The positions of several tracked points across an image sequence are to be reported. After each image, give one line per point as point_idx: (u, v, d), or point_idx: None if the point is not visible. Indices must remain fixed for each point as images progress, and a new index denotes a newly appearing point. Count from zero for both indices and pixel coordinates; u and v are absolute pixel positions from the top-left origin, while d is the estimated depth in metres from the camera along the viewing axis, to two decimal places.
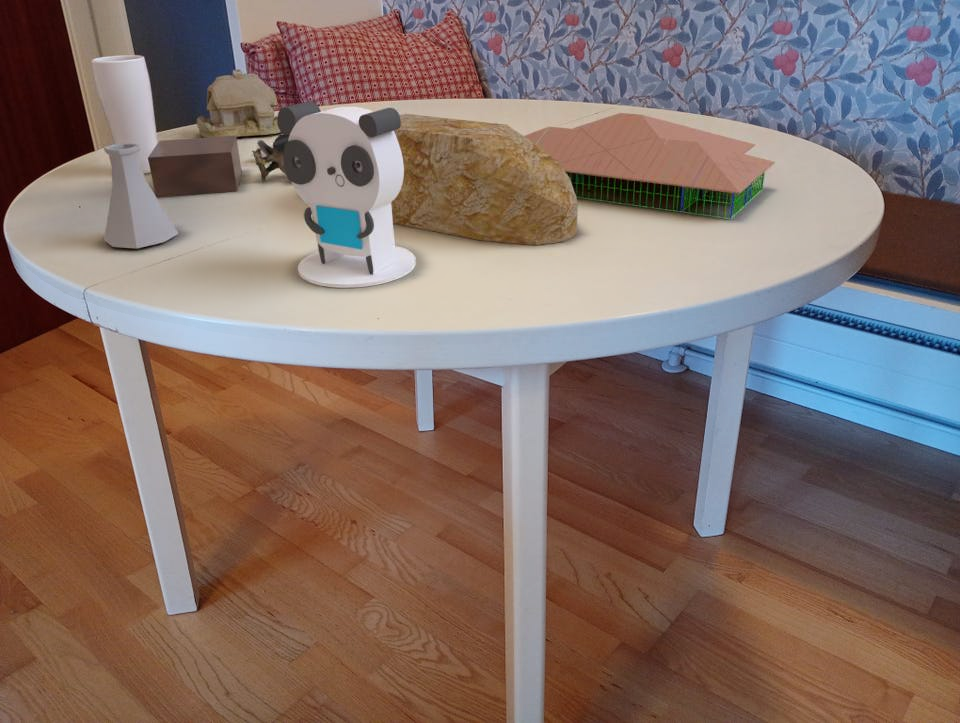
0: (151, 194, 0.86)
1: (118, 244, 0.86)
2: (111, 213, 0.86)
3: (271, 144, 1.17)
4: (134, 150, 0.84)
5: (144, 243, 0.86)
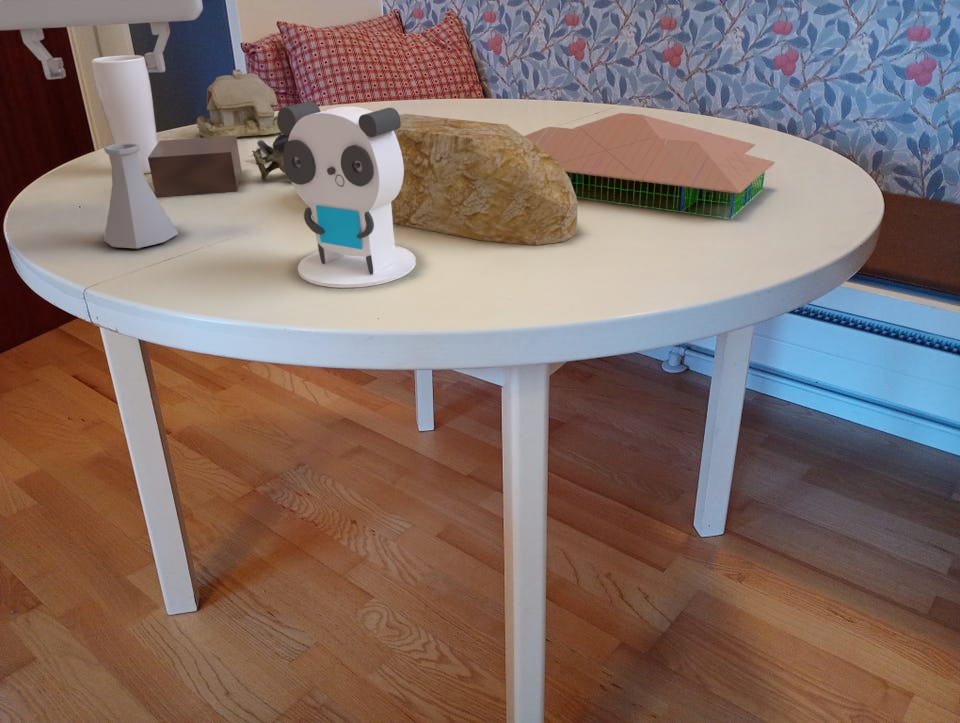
0: (151, 194, 0.86)
1: (118, 244, 0.86)
2: (111, 213, 0.86)
3: (271, 144, 1.17)
4: (134, 150, 0.84)
5: (144, 243, 0.86)
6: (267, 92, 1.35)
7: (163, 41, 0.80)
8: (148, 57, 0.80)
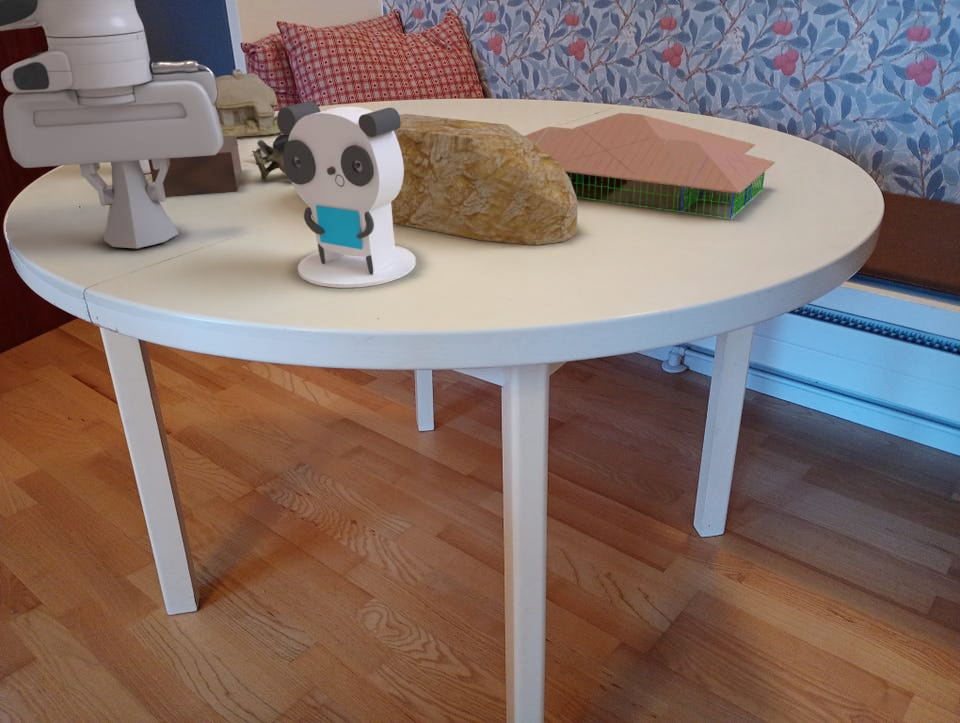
0: None
1: (118, 244, 0.86)
2: (111, 213, 0.86)
3: (271, 144, 1.17)
4: None
5: (144, 243, 0.86)
6: (267, 92, 1.35)
7: (163, 175, 0.85)
8: (149, 189, 0.86)
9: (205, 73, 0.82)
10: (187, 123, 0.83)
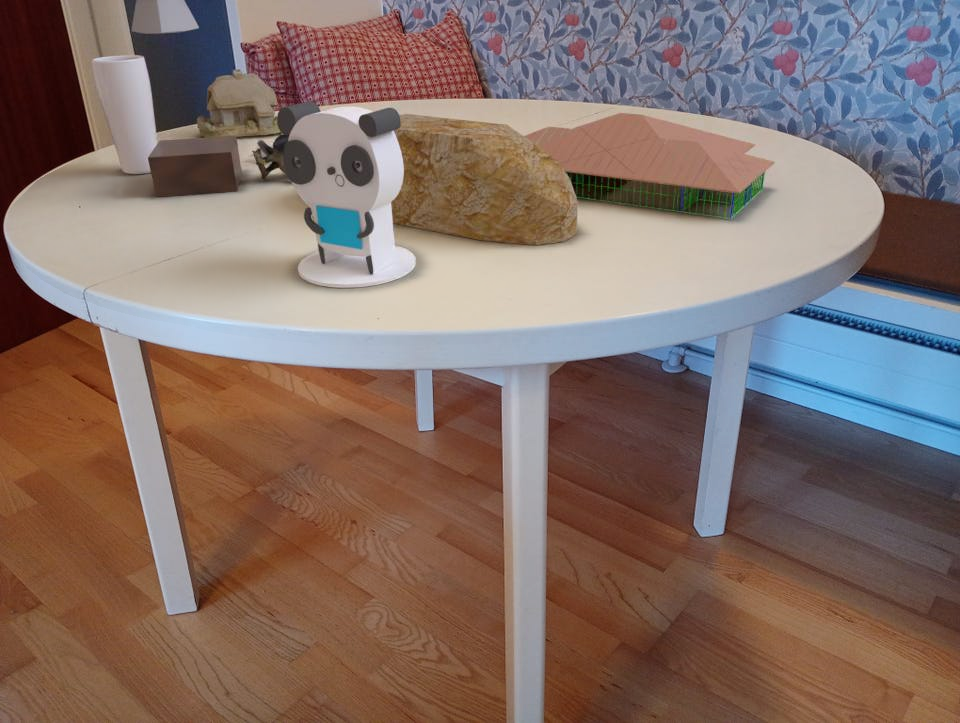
0: None
1: (145, 30, 0.94)
2: (138, 2, 0.95)
3: (271, 144, 1.17)
4: None
5: (168, 29, 0.94)
6: (267, 92, 1.35)
7: None
8: None
9: None
10: None
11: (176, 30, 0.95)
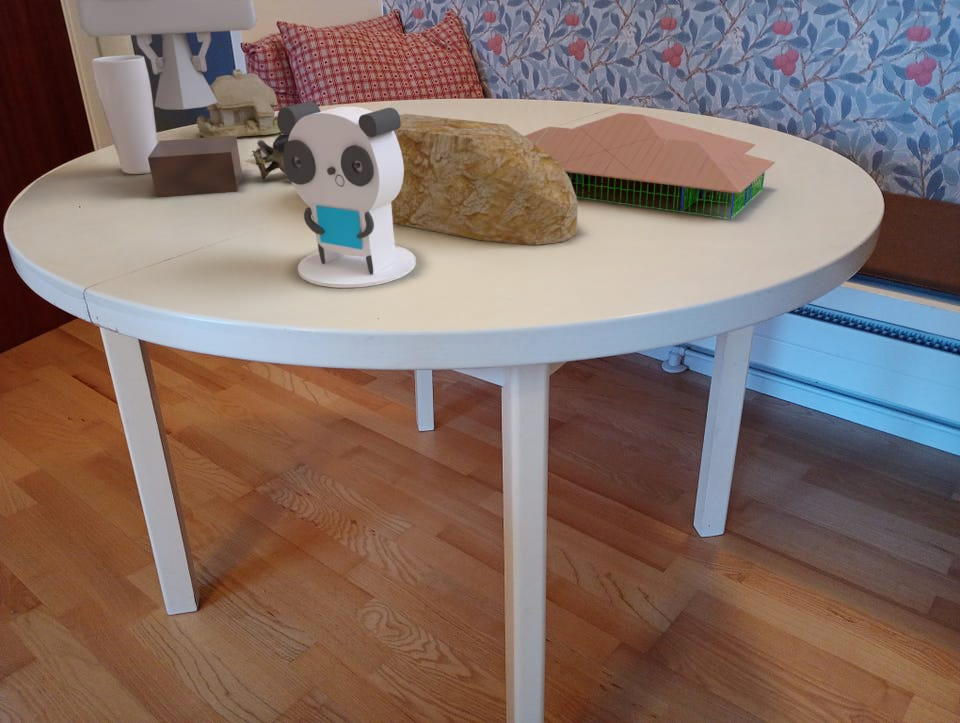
0: None
1: (168, 106, 1.01)
2: (161, 80, 1.01)
3: (271, 144, 1.17)
4: None
5: (190, 105, 1.01)
6: (267, 92, 1.35)
7: (206, 47, 1.00)
8: (194, 59, 1.01)
9: None
10: (227, 0, 0.98)
11: (197, 106, 1.01)
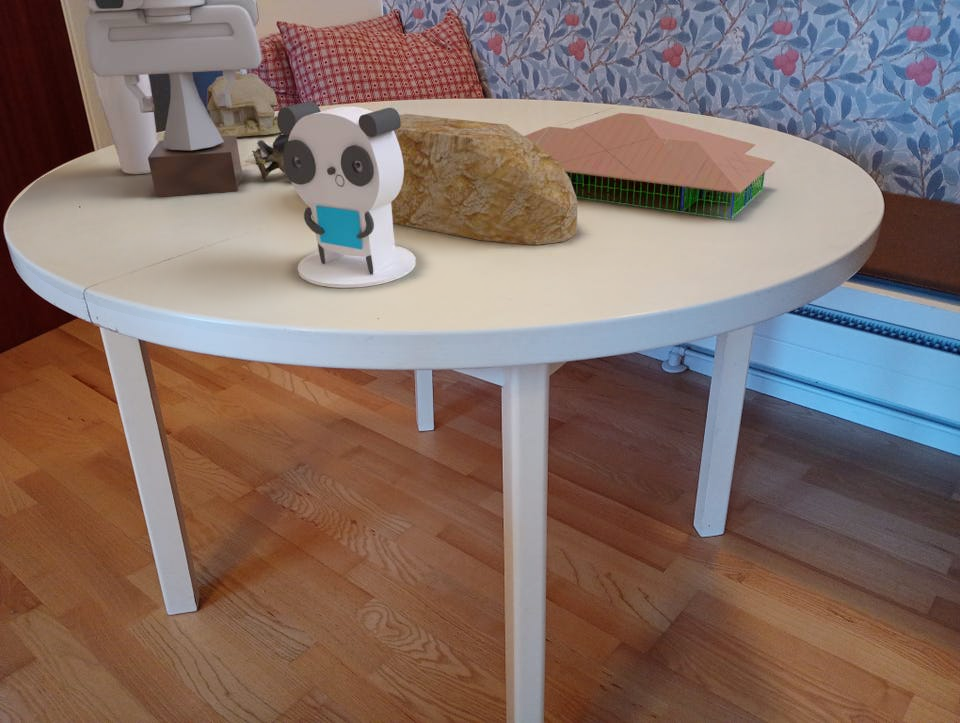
0: (202, 106, 1.04)
1: (175, 147, 1.03)
2: (169, 122, 1.03)
3: (271, 144, 1.17)
4: None
5: (197, 146, 1.03)
6: (267, 92, 1.35)
7: (231, 84, 1.03)
8: (219, 96, 1.03)
9: None
10: (234, 40, 1.00)
11: (204, 147, 1.04)
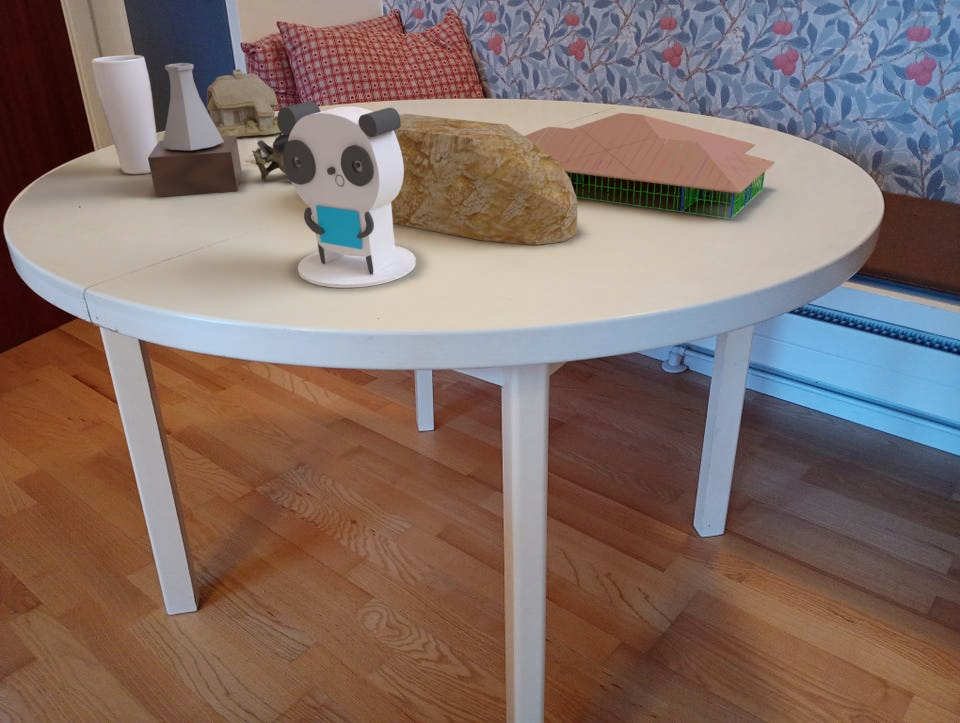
0: (202, 106, 1.04)
1: (175, 147, 1.03)
2: (169, 122, 1.03)
3: (271, 144, 1.17)
4: (189, 68, 1.01)
5: (197, 146, 1.03)
6: (267, 92, 1.35)
7: None
8: None
9: None
10: None
11: (204, 147, 1.04)
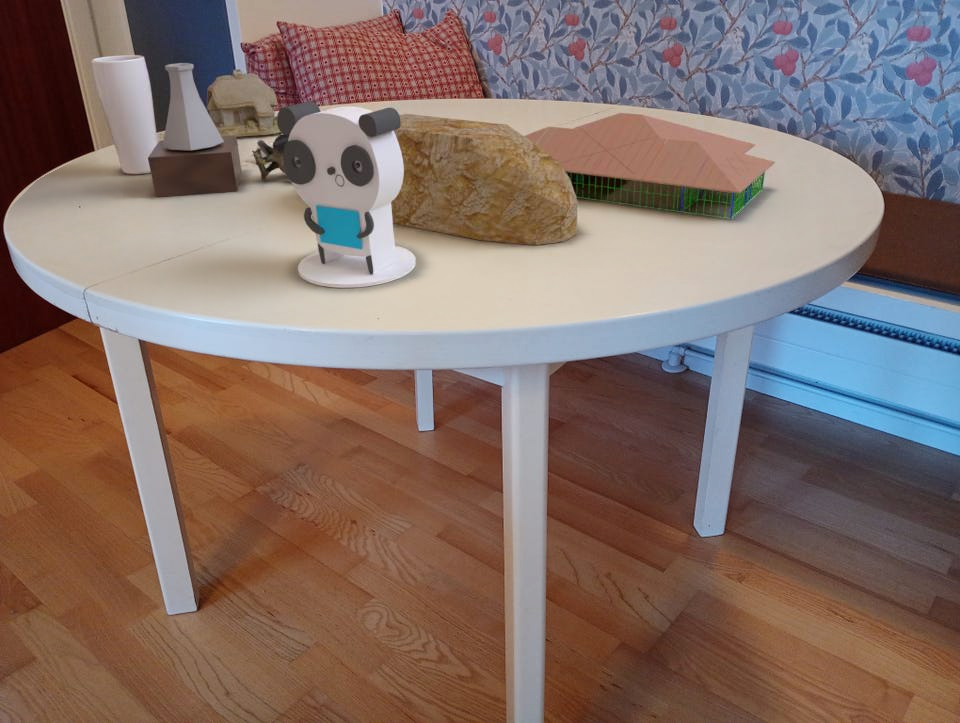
0: (202, 106, 1.04)
1: (175, 147, 1.03)
2: (169, 122, 1.03)
3: (271, 144, 1.17)
4: (189, 68, 1.01)
5: (197, 146, 1.03)
6: (267, 92, 1.35)
7: None
8: None
9: None
10: None
11: (204, 147, 1.04)
